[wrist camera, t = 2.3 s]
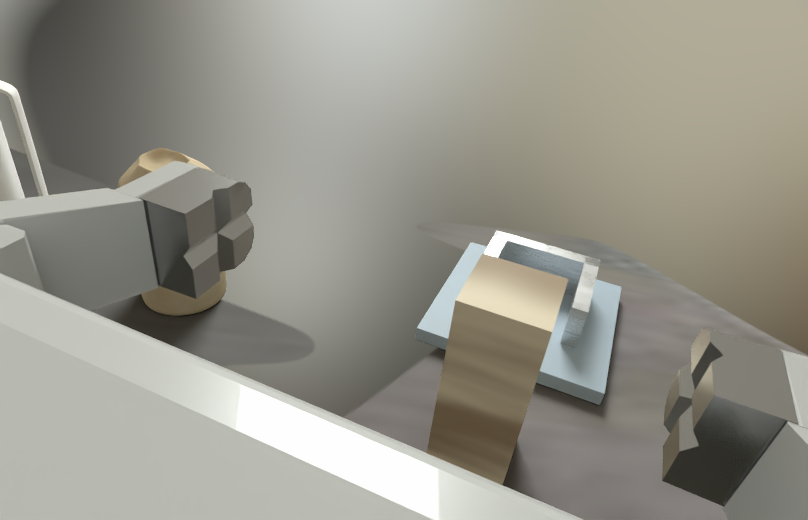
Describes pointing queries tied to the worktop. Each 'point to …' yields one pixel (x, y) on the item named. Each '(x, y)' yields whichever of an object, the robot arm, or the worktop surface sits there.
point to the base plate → (561, 364)
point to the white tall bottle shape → (3, 177)
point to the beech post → (493, 364)
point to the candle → (160, 297)
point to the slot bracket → (558, 263)
